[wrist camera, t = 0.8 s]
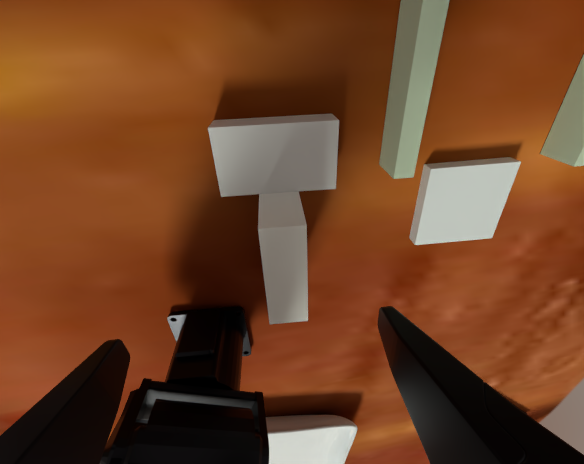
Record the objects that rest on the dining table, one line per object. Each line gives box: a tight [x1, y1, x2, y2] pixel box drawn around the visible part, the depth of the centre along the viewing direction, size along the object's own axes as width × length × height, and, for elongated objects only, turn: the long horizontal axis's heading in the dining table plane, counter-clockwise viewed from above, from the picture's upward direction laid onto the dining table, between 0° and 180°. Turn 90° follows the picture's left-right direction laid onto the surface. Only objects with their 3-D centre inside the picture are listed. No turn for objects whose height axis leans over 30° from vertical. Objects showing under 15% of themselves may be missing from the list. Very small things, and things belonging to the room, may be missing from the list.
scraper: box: [208, 113, 339, 324], centre depth 17 cm, size 11×7×6 cm, turn 2°
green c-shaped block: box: [379, 0, 584, 179], centre depth 15 cm, size 10×12×2 cm
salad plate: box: [266, 415, 357, 464], centre depth 39 cm, size 21×21×3 cm
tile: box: [409, 157, 521, 245], centre depth 21 cm, size 6×6×2 cm
